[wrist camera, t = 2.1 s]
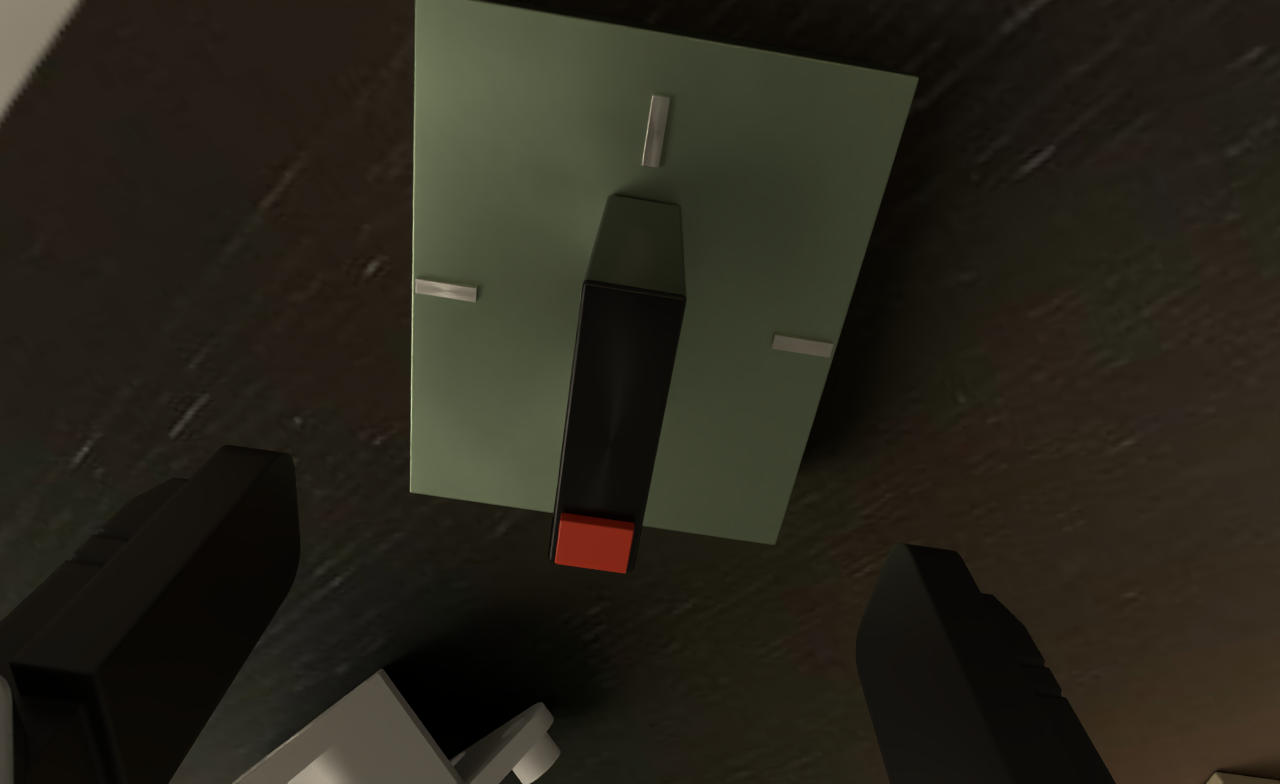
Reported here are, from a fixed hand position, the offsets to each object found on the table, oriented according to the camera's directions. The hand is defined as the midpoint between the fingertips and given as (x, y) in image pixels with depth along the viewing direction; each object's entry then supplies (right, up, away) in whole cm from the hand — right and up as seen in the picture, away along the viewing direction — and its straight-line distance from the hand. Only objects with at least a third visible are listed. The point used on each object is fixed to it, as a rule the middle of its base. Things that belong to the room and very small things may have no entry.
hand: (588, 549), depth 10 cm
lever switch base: (0, +5, +10) cm, 11 cm away
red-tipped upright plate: (0, +4, +7) cm, 8 cm away
